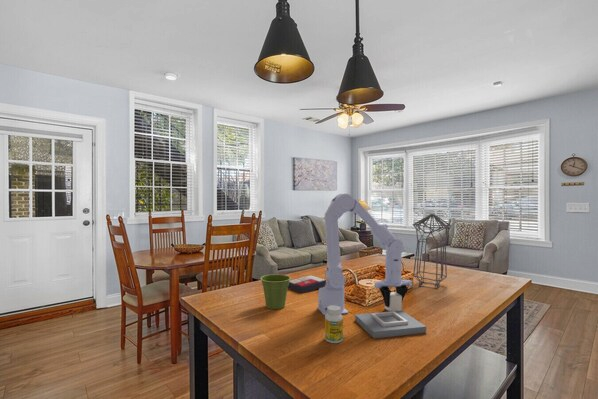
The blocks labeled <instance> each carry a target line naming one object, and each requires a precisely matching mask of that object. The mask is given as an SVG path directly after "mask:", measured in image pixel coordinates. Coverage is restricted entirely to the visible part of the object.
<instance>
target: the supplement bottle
mask: <svg viewBox="0 0 598 399" xmlns="http://www.w3.org/2000/svg"><path fill="white" fill-rule="evenodd" d="M327 312H328V313H327V314H326V315H324V338H325V341H326V342H328V343H330V344H338V343H341V342H342V341H343V340H344V317H343V314H340V312H341V308H340V307H339V306H334V305H332V306H328V307H327Z"/></svg>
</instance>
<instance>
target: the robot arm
mask: <svg viewBox="0 0 598 399" xmlns="http://www.w3.org/2000/svg"><path fill="white" fill-rule="evenodd" d="M347 212H350V213H354V214H356V215H357V216H358V217H359V218H360V219H361V220H362V221H363V222H364V223H365V224H366V225H367V226H368V227H369V228H370V234H371V235H372V236H373V237H374V238H375V239H376V240H377V242H379V243H380V244H381V245H382V246H383V249H384V250H385V279H383V280H379V281H374V288H376V289H379V291H380V293H381V296H382V299H383V302H384V307H385V306H387V307H389V305H390V293H391V292H392V290H391V289H390V288H393V287H394V288H395V292H396V293H398V294H400V295H402V303H403V302H404V298H405V296H406V294H407V293H408V291H409V288H408V287H412V286H413V283H412V282H413V281H412V280H410V279H402V254H403V253H404V250H405V246H404V243H403V242H402V241H401V240H400V239H398V238H396V237H397V235H396V234H394V233H393V232H392V231H391V230H390V229H389V228H388V227H389V226H388V225H387V224H385V223H382V222H377V220H376V219H375V218H374V216H372V215H371V214H370V212H369V211H368V210H367V209H366V208H365V207H364V206H363V204H362V203H361V202H360V201H358V199H357V198H354V196H353V195H352V194H350V193H339V194H337V195H336V196H335V197H334V198H332V199H331V201H330V204H329V206H328V207H327V209H326V211H325V213H324V228H325V243H326V259H327V261H326V270H325V272H324V277H325V280H326V284H325V287H323V288H319V289H318V293H317V294H318V295H317V297H318V298H317V299H318V301H317V305H318V306H317V309H318V310H319V311H320V312H321V313H322V315H323V316H325V315H326V314H327V313H328V312H327V307H328V306H332V305H334V306H339V307H340V308H341V312H340V314H341V315H343V314H349V311H348V310H347V309H346V308H345V284H346V276H345V275H344V273H343V267H342V262H341V253H340V249H341V248H340V238H339V233H340V232H339V219H340V218H341V217H342V216H343V215H344V214H345V213H347ZM407 286H408V287H407Z"/></svg>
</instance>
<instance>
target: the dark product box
mask: <svg viewBox="0 0 598 399" xmlns="http://www.w3.org/2000/svg"><path fill="white" fill-rule="evenodd" d="M326 283H327V279H324V278H322V277H321V278H320V277H317V276H315V275H307V276H302V277H298V278H295V279H290V280H289V285H288V289H290V290H292V291H295V292H297V293H299V294H300V293H301V294H305V293H309V292H313V291H316V290H319V288H323V287H325V284H326Z"/></svg>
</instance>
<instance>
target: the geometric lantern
mask: <svg viewBox="0 0 598 399" xmlns="http://www.w3.org/2000/svg"><path fill="white" fill-rule="evenodd" d="M429 220H430V222H429ZM428 222H429V223H428ZM435 222H436V223H437V224H435ZM412 226H413V227H414V228H415V231H416V242H417V243H416V247H415V248H416V249H415V250H416V251H415V257H414V266H413V273H412V276H413V278H414V279H416V280H417V281H418V287H422V288H427V289H428V288H429V289H435V290H436V289H438V288H439V286H440V283H442V282H443V281H444V280H446V278H447V277H448V276H447V274H448V272H447V244H446V243H447V242H446V241H447V238H448V235H449V232H450V230H451V228H452V224H450V223H449V222H447V221H445V220H444V219H442V218H441V217H440V216H438V215H436V214H435V213H430V214H428V215H426V216H425V217H423V218H422V219H419V220H418V221H416V222H414V223H413V224H412ZM422 228H423V229H422ZM425 228H427V229H429V231H425ZM443 230H445V232H444V234H443V236H442V235H441V231H443ZM421 231H422V232H423V234H422V232H421ZM418 232H419V233H420V236H421V237H420V238H419V236H418V235H419V234H418ZM435 232H437V233H438V234H439V236H440V237H441V240H440V239H436V238H435V236H434V234H433V233H435ZM425 234H428V235H427V236H426V238H424V237H423V236H424V235H425ZM430 235H431V236H432V238H433V239H430V238H429V237H430ZM444 237H445V238H444ZM431 241H432V242H431ZM433 241H435V242H433ZM420 243H421V248H420ZM424 243H425V245H424ZM427 244H435V245H436V248H435V249H436V250H435V251H436V255H435V256H436V258H435V259H436V260H435V262H436V264H435V265H436V266H435V267H436V269H435V271H436V272H429V271H425V270H426V269H425V267H426V256H427ZM423 245H424V246H423ZM439 245H440V273H438V267H439V266H438V263H439V262H438V261H439V258H438V257H439V256H438V255H439V250H438V249H439ZM423 247H424V257H423V256H422V254H423ZM419 254H420V255H419ZM422 257H423V258H424V259H423V267H422V268H423V270H422V271H421V263H422ZM444 263H445V264H444ZM444 266H445V267H444ZM444 268H445V269H444ZM444 270H445V275H444ZM415 272H416V273H415ZM421 273H422V275H423V276H422V275H421ZM418 274H419V276H418ZM425 274H429V275H435V279H433V278H429V277H425ZM438 276H440V277H439V278H438ZM425 280H429V281H434V282H427V281H425ZM422 283H423V284H430V285H434V287H432V286H425V285H422Z"/></svg>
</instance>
